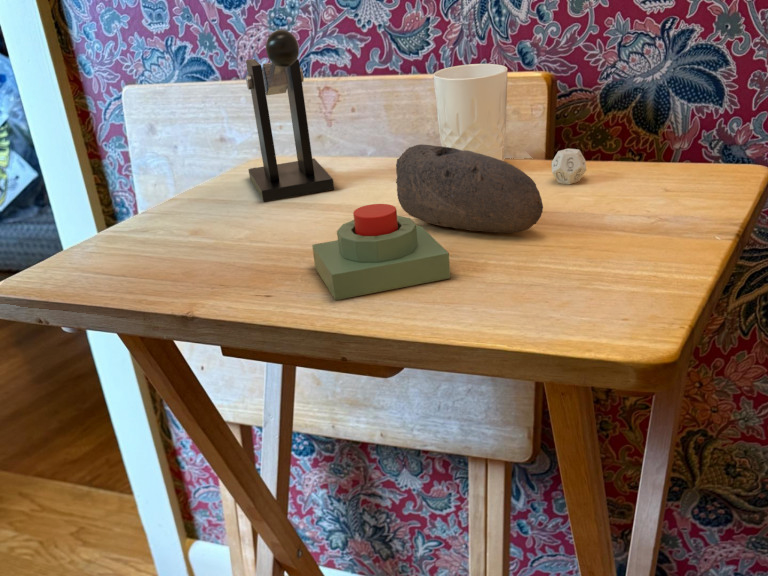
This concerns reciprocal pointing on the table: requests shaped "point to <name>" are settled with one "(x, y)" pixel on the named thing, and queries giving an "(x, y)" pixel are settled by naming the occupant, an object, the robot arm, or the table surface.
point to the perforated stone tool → (466, 190)
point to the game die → (568, 166)
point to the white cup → (472, 108)
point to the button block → (380, 260)
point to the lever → (279, 61)
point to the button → (375, 220)
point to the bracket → (306, 171)
